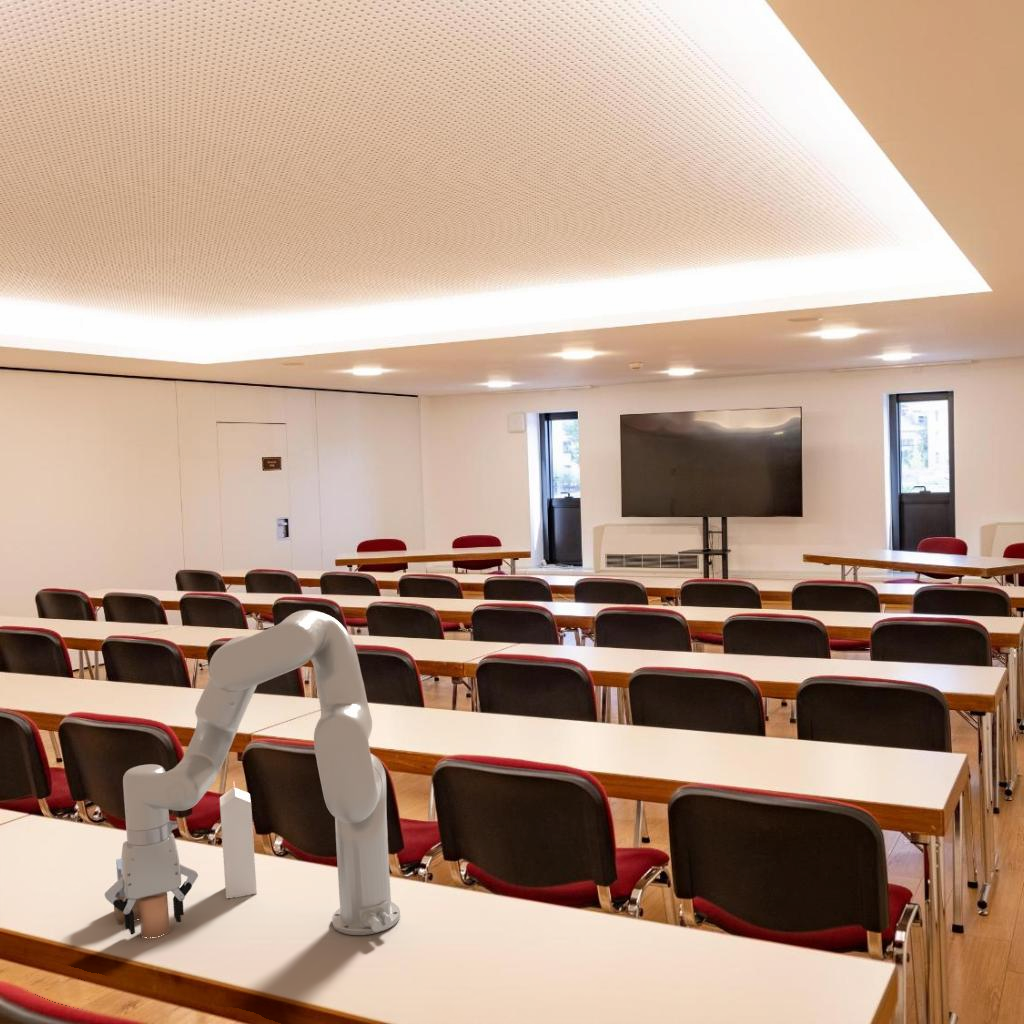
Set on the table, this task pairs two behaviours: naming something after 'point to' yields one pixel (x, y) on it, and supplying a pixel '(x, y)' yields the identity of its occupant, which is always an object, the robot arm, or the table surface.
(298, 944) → the table surface
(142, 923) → the terracotta capsule
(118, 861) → the slate blue cube
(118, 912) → the walnut base block
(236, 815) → the milk
